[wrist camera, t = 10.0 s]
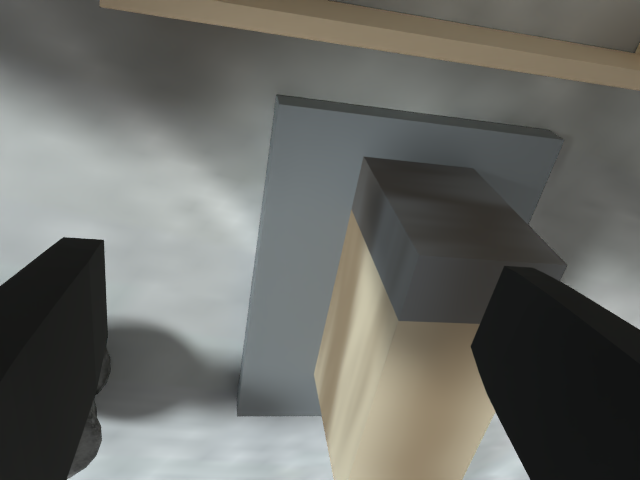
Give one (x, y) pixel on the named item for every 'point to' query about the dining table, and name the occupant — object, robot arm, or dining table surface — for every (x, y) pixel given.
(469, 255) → the capped box
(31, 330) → the robot arm
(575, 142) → the dining table surface
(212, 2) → the wooden tray
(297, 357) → the slate board
